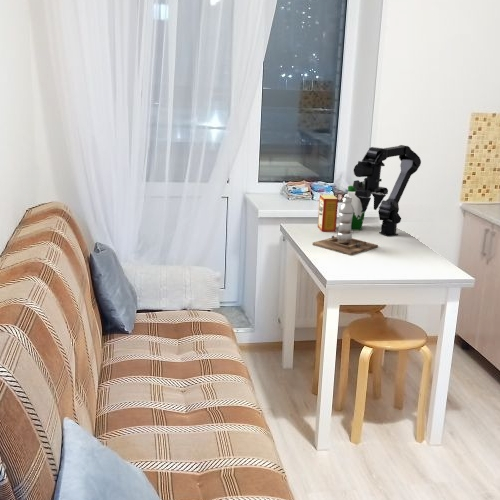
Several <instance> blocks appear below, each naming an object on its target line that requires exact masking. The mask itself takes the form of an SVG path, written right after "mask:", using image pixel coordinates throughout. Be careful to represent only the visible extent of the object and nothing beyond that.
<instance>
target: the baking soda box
mask: <svg viewBox="0 0 500 500" xmlns="http://www.w3.org/2000/svg"><path fill="white" fill-rule="evenodd" d="M318 202H319V203H318V217H317V227H318V229H319V230H320V231H321V232H323V233H325V232H326V233H328V232H329V233H336V232H337V220H338V215H337V214H338V207H339V206H338V204H339V198H337V196H335V195H334V194H319V200H318Z"/></svg>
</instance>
